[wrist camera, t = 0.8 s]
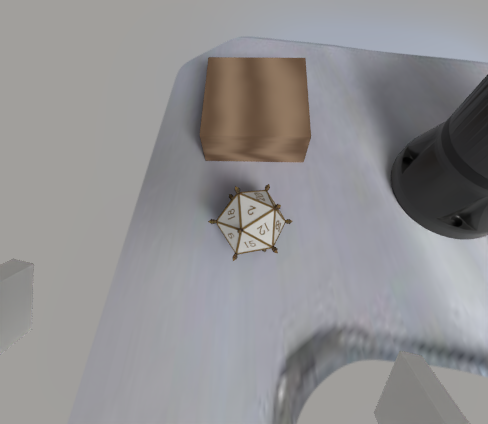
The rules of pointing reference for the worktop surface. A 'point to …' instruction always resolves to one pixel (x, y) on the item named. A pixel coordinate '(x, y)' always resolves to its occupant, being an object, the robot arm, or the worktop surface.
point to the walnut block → (255, 110)
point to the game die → (251, 221)
